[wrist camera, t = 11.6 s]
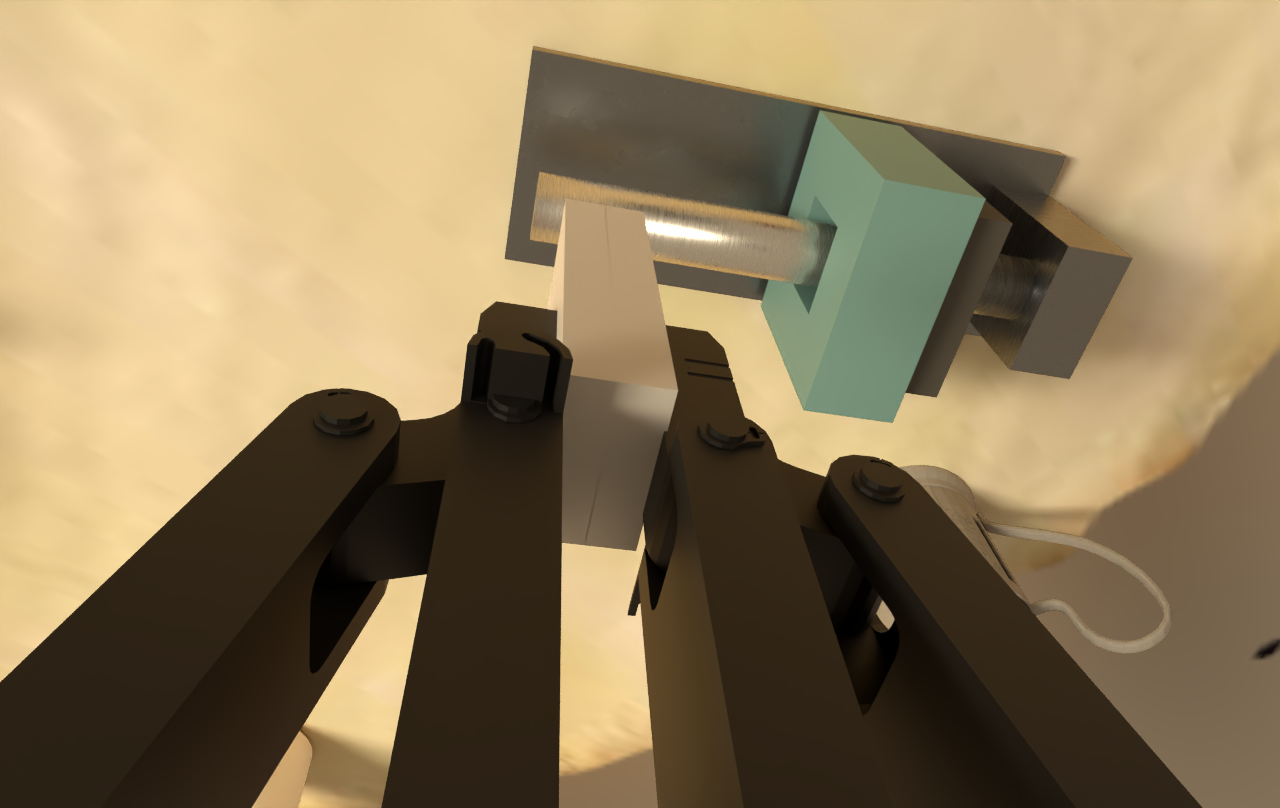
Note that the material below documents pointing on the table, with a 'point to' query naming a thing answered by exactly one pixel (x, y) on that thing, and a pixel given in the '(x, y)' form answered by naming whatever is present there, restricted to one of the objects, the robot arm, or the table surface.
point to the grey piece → (784, 197)
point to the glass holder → (961, 511)
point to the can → (288, 777)
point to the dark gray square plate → (960, 301)
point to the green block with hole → (869, 265)
